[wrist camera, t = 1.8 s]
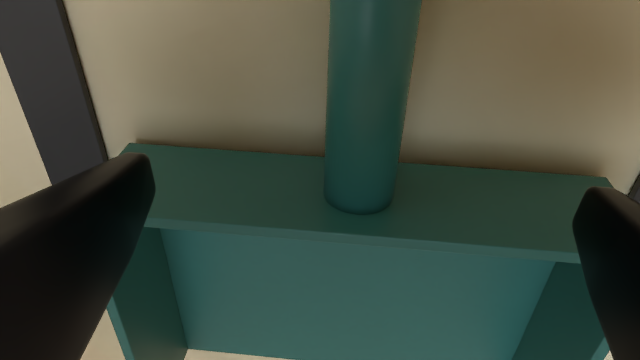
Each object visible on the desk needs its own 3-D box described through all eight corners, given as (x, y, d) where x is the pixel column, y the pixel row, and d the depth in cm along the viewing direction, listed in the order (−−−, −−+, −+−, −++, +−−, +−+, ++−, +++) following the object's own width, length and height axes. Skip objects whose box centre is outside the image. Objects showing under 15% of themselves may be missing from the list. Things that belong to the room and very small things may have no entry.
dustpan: (508, 376, 23) (533, 469, 19) (182, 343, 24) (150, 426, 20) (808, -275, 9) (1070, -358, 6) (30, -283, 10) (-144, -355, 7)
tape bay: (667, 254, 18) (672, 259, 17) (64, 204, 19) (61, 209, 19) (1166, -522, 7) (1192, -535, 7) (-200, -491, 9) (-215, -500, 9)
